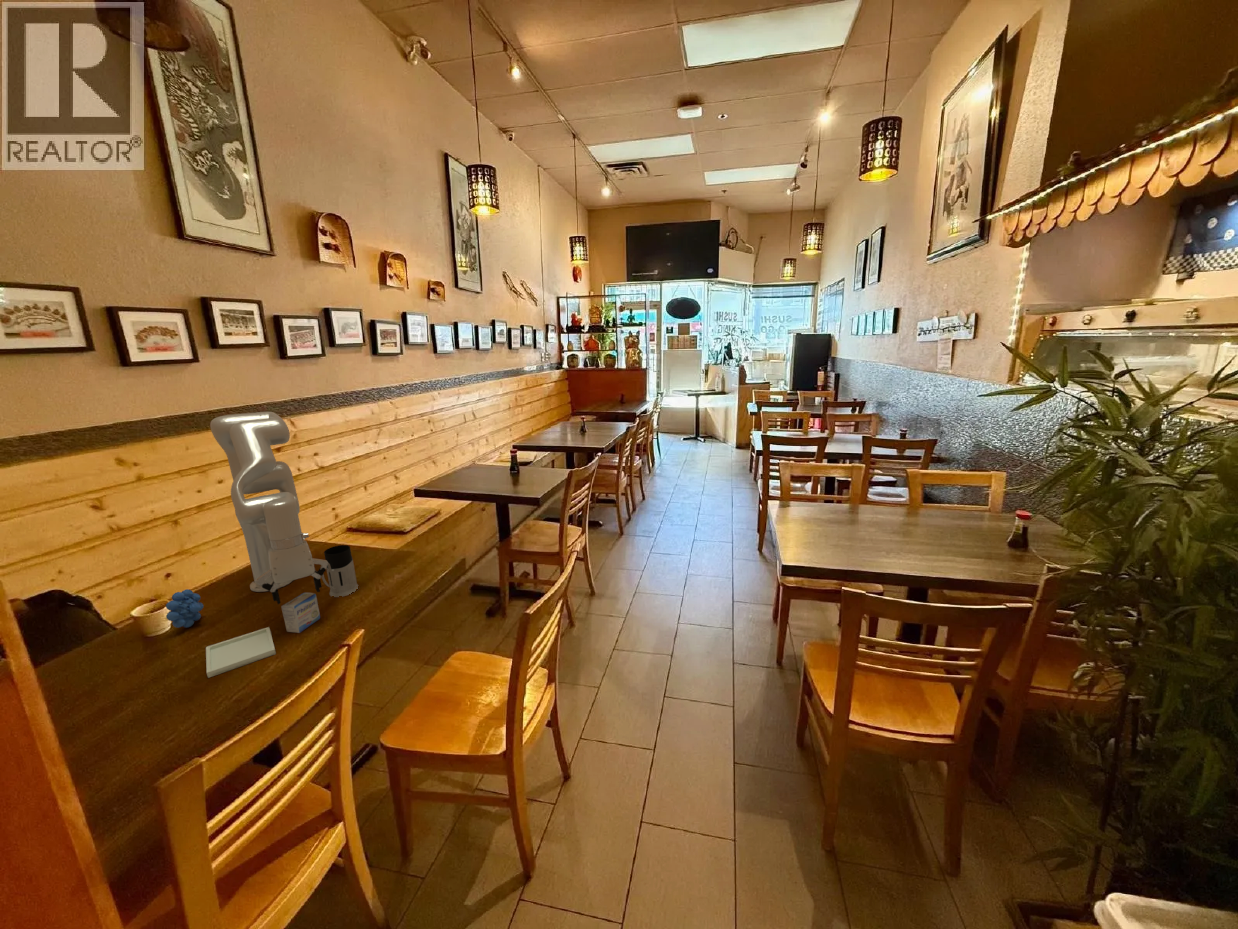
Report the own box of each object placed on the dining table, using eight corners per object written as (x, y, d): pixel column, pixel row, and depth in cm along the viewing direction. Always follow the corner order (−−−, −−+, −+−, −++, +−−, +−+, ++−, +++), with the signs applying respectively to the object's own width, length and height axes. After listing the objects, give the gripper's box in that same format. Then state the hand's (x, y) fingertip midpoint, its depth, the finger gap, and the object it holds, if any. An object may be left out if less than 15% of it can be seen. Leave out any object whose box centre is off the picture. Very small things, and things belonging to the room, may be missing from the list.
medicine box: (299, 633, 135) (293, 607, 133) (286, 632, 136) (280, 605, 134) (321, 618, 143) (316, 593, 141) (308, 617, 144) (303, 591, 141)
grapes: (190, 637, 134) (180, 599, 131) (164, 639, 134) (153, 601, 131) (219, 614, 146) (210, 579, 143) (195, 616, 145) (186, 581, 142)
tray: (207, 651, 128) (205, 647, 127) (270, 631, 136) (269, 626, 136) (208, 678, 117) (206, 672, 117) (275, 654, 126) (274, 649, 126)
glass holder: (363, 583, 163) (357, 543, 160) (341, 605, 150) (333, 562, 146) (338, 584, 163) (331, 544, 160) (313, 606, 150) (305, 563, 146)
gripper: (320, 530, 141) (330, 582, 145) (247, 546, 130) (260, 602, 134) (324, 536, 135) (335, 590, 139) (249, 554, 124) (263, 612, 128)
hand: (298, 596), depth 136 cm, fingers open, 9 cm apart
